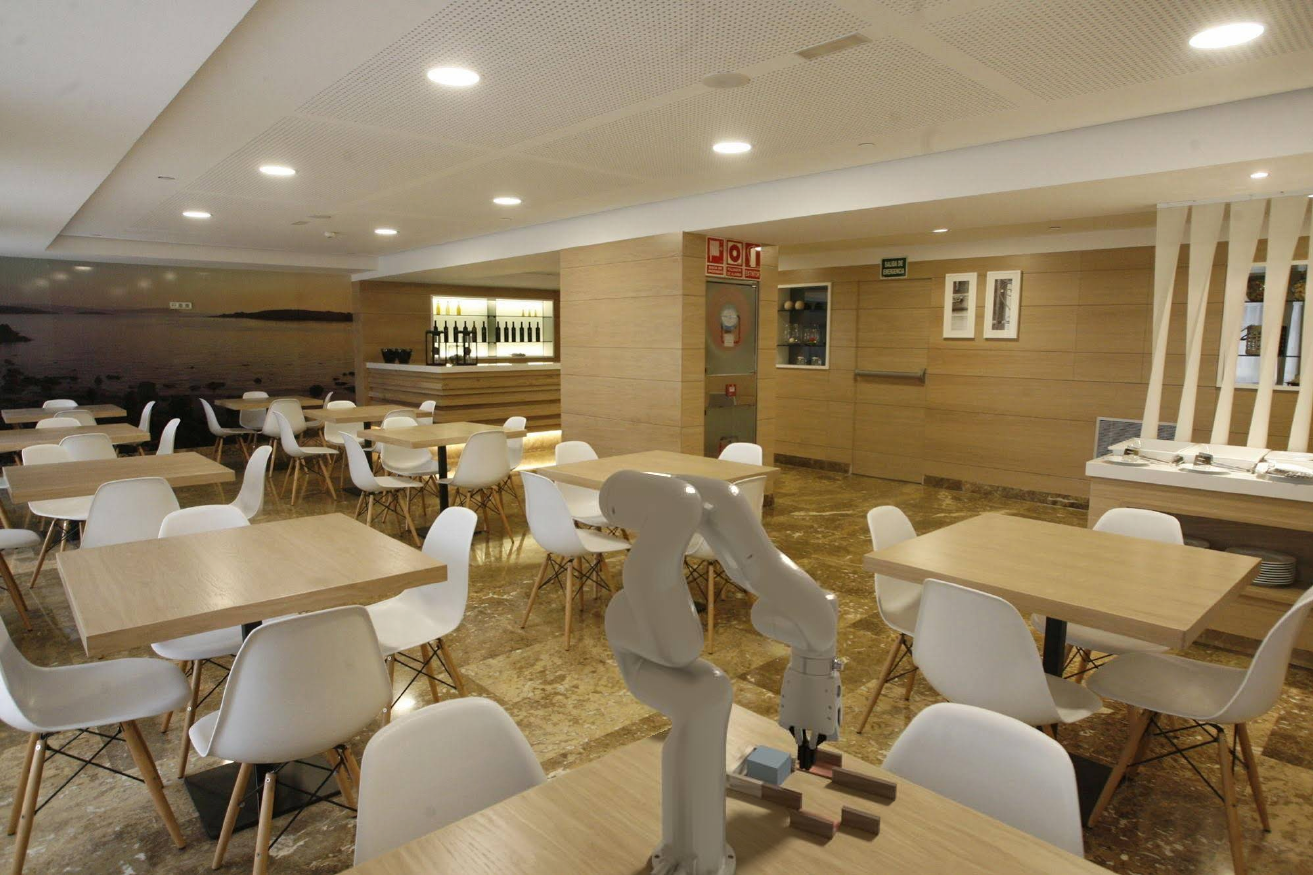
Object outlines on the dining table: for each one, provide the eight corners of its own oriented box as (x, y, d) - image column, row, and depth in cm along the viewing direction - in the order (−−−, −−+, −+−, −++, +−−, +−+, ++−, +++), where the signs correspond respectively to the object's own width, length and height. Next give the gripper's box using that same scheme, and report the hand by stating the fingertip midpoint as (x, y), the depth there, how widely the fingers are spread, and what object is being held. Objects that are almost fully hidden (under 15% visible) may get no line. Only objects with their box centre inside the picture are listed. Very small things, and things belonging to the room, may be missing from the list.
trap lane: (870, 851, 116) (870, 836, 116) (712, 800, 130) (712, 786, 130) (902, 783, 135) (903, 770, 134) (761, 745, 148) (761, 732, 148)
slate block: (777, 790, 133) (777, 768, 133) (746, 779, 137) (746, 758, 136) (790, 774, 138) (791, 753, 138) (760, 765, 142) (761, 744, 141)
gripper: (862, 665, 129) (855, 770, 130) (779, 647, 136) (773, 746, 137) (849, 679, 122) (842, 789, 123) (763, 659, 130) (757, 763, 131)
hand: (806, 766), depth 130 cm, fingers closed
